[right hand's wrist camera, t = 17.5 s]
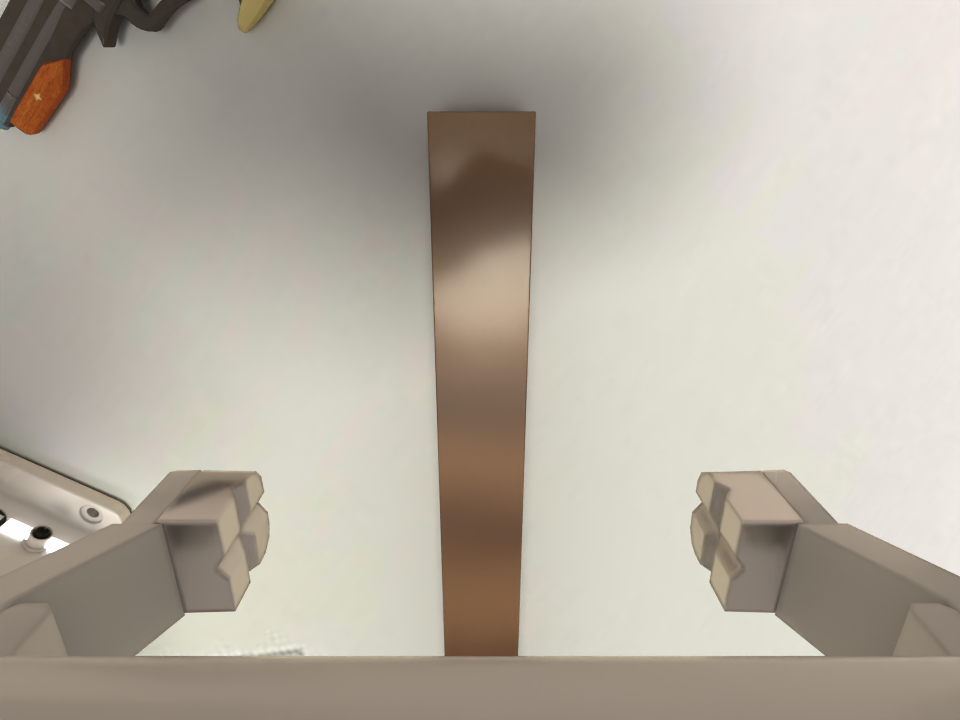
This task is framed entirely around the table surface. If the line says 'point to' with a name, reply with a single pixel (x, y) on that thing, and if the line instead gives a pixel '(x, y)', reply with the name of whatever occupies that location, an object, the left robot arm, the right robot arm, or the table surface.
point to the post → (481, 366)
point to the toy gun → (68, 47)
